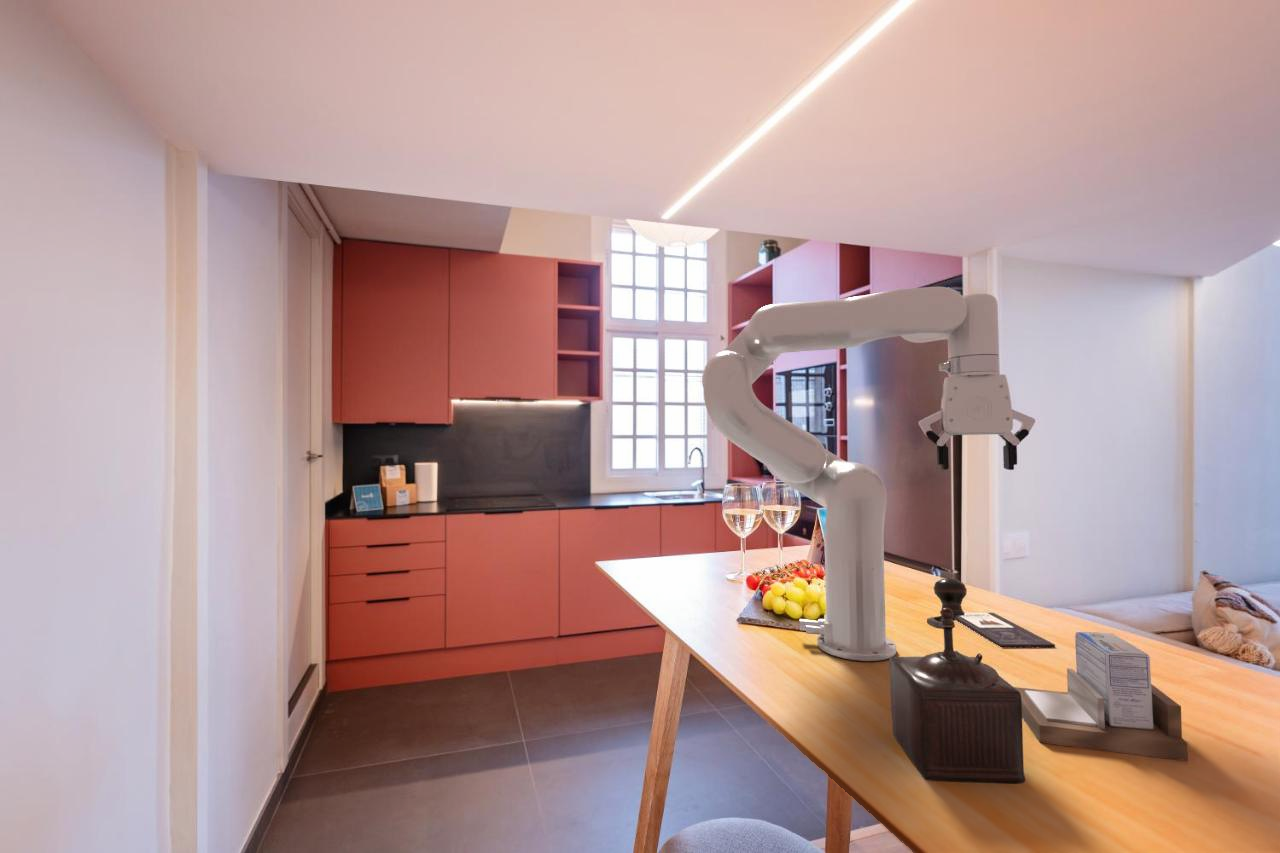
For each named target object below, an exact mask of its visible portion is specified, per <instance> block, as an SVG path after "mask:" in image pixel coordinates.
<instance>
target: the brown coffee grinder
mask: <svg viewBox="0 0 1280 853" xmlns="http://www.w3.org/2000/svg"><path fill="white" fill-rule="evenodd" d="M933 590H934V591H933V592H934V594H935V595H936V597H937V598H938V599H939V600H940V602H941V604H942V605H941V610H940V611H939V613H940V615H939V616H933V617H932V616H931V617H927V619H926V623H927V624H928V625H929V626H930V627H933V628H935V629H940V630H943V644H944V647H943V648H944V649H943V651H937V652H933V653H929V654H926V655H924V656H893V657H890V658H889V684H890V685H889V686H890V688H889V689H890V706H891V708H890V710H891V720H892V722H891V723H892V727H891V729H892V732H893V734H894V738H895V740H896V742H897V744H898V745H899V746H900V748H901V749H902V751H903V752H904V753H905V755H906V756H907V758H908V759H909V761H910V762H911V763H912V765H913V766H914V767H915V768H916V769H917V771H918V772H919V773H920V775H921V776H922V777H923V779H924V780H932V781H941V782H961V783H962V782H963V783H964V782H966V783H967V782H969V783H993V784H994V783H995V784H996V783H997V784H1000V783H1001V784H1002V783H1003V784H1019V783H1020V784H1021V783H1024V782H1026V777H1025V771H1024V769H1025V768H1024V744H1023V743H1024V738H1023V734H1024V733H1023V731H1024V730H1023V718H1022V700H1021V695H1020V692H1019V691H1018V690H1016V689H1015V688H1014V687H1015V686H1013V685H1012V684H1010V683H1009V682H1008V681H1007V680H1005V679H1004V678H1003V677H1002V676H1000V675H999V673H998V672H997V670H996V669H995V668H994V667H992V666H991V665H989V664H986V663H984V662H982V659H983V655H982V654H981V653H977V654H976V656H967V655H966V654H964V653H963V654H962V653H961V652H959V651H958V650H954V640H953V639H954V638H953V635H954V634H953V629H955V627H956V624H955V622H956V620H955V619H957V618H958V616H963V615H964V614H965V613H966V612H964V610H963V608H962V602H963V600H964V598H965V597H966V596H967V594H968V593H967V591H968V589H967V588H966V585H965V583H963V582H962V581H960V580H959V579H957V578H941V579H940V580H937V581H936V582H934V586H933Z"/></svg>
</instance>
